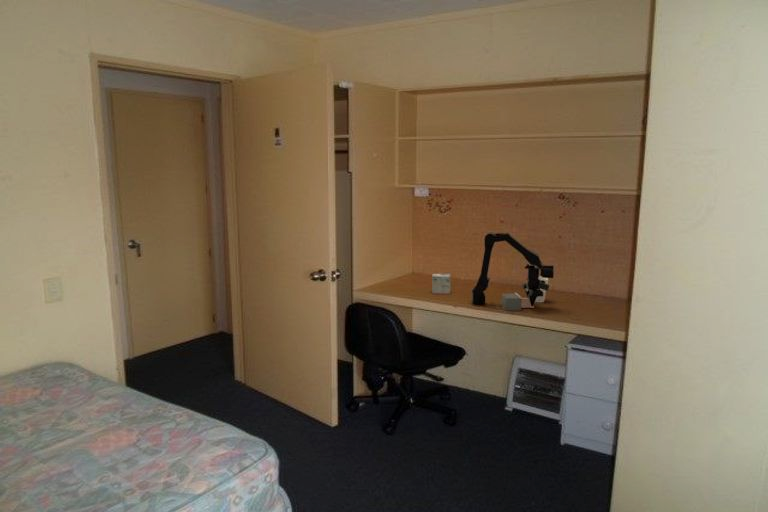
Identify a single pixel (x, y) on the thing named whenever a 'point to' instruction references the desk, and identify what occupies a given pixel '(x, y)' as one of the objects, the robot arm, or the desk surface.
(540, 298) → the foam cup
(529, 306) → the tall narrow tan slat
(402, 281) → the desk surface
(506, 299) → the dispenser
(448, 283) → the light bulb box
